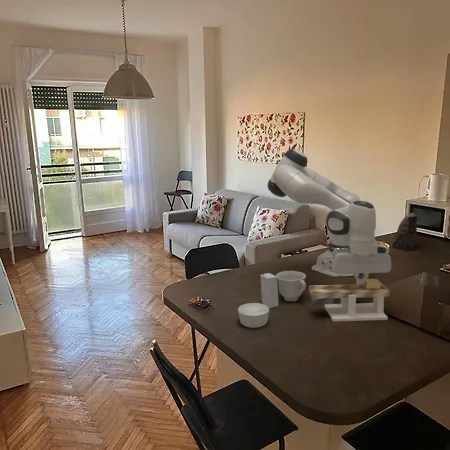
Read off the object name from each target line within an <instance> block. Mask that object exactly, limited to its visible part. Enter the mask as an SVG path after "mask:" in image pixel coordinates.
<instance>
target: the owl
mask: <svg viewBox="0 0 450 450" xmlns="http://www.w3.org/2000/svg"><path fill="white" fill-rule="evenodd" d="M417 222H418V215H417V214H415V213H414V212H410V213H408V214H407V215H406V216H404V217H403V218H402V220H401V221H400V223H399V225H398V227H397V231H396V232H395V233H394V234H395V235H394V238H393V242H392V243H391V248H393V249H396V250H400V251H404V252H413V251H415V245H416V239H417V238H418V236H417V235H418V234H417V232H418V231H417V230H418V225H417Z"/></svg>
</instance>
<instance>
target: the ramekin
mask: <svg viewBox="0 0 450 450" xmlns="http://www.w3.org/2000/svg"><path fill="white" fill-rule="evenodd" d="M269 313H270V308H269V307H268V306H266V305H264V304H263V303H259V302H248V303H244V304H240V305H239V307H237V314H238V317H239V322H240V324H241V325H242V326H244V327H245V328H249V329H250V328H251V329H255V328H258V329H259V328H261V327H263V326H266V324H267V323H268V320H269Z"/></svg>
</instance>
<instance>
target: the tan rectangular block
mask: <svg viewBox="0 0 450 450" xmlns="http://www.w3.org/2000/svg"><path fill="white" fill-rule="evenodd" d="M381 284H382V282H381V281H380V280H379V279H378V278H367V279H366V280H365V285H362V288H363V289H364V290H379V289H380V287H381Z"/></svg>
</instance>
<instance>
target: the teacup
mask: <svg viewBox="0 0 450 450" xmlns="http://www.w3.org/2000/svg"><path fill="white" fill-rule="evenodd" d="M275 276H276V277H277V284H278V291H279V293H280V294H281V296H282V297H283V299H284V301H285V302H286V301H287V302H296V301H298V300H299V297H301V295H302V294H303V292H304V291H305V290H306V288H307V284H306V282H305V279H306V278H307V274H306V273H304V272H301V271H298V270H283V271H279V272H278V273H276V274H275Z"/></svg>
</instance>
